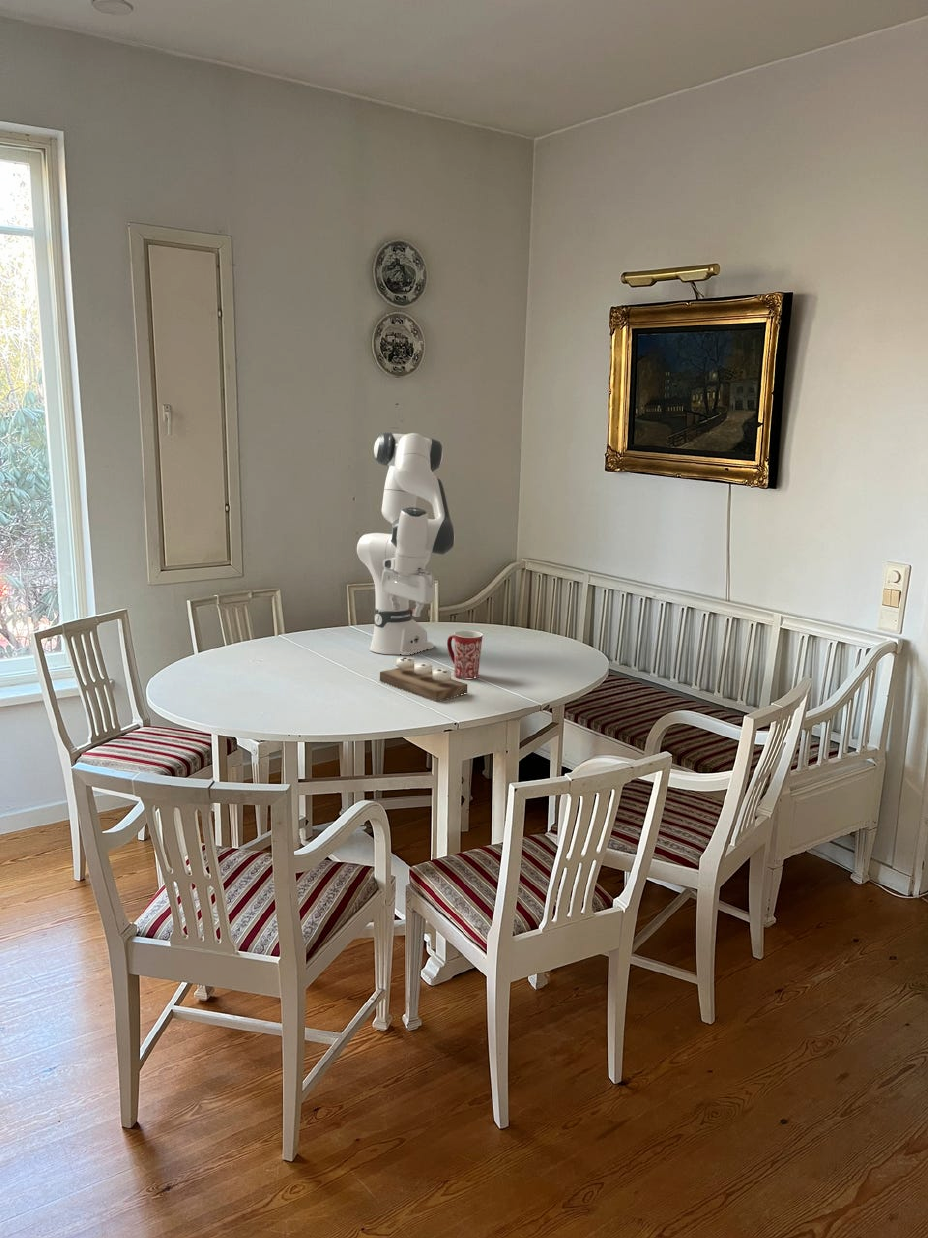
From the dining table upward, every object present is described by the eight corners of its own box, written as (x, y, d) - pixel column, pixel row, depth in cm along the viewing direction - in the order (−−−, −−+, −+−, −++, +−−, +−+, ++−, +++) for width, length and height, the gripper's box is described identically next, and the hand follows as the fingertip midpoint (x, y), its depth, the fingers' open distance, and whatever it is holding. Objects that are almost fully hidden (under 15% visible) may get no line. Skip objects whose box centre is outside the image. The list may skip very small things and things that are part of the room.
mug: (487, 677, 289) (489, 634, 286) (466, 682, 283) (468, 638, 280) (458, 668, 298) (460, 626, 295) (437, 673, 292) (439, 630, 289)
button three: (406, 662, 283) (406, 655, 283) (417, 666, 280) (417, 659, 279) (392, 665, 280) (393, 658, 279) (404, 669, 276) (404, 662, 276)
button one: (423, 668, 278) (424, 661, 277) (435, 672, 274) (436, 665, 274) (410, 671, 274) (410, 664, 274) (422, 675, 271) (422, 668, 270)
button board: (410, 675, 288) (410, 665, 288) (467, 694, 271) (467, 684, 270) (379, 681, 280) (379, 671, 279) (436, 701, 262) (436, 691, 262)
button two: (442, 674, 272) (442, 667, 272) (454, 678, 269) (454, 671, 268) (428, 677, 269) (429, 670, 268) (441, 681, 265) (441, 674, 265)
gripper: (442, 571, 263) (437, 619, 265) (396, 559, 277) (392, 605, 280) (424, 572, 258) (420, 621, 261) (379, 560, 273) (375, 606, 275)
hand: (405, 613), depth 270 cm, fingers open, 8 cm apart
